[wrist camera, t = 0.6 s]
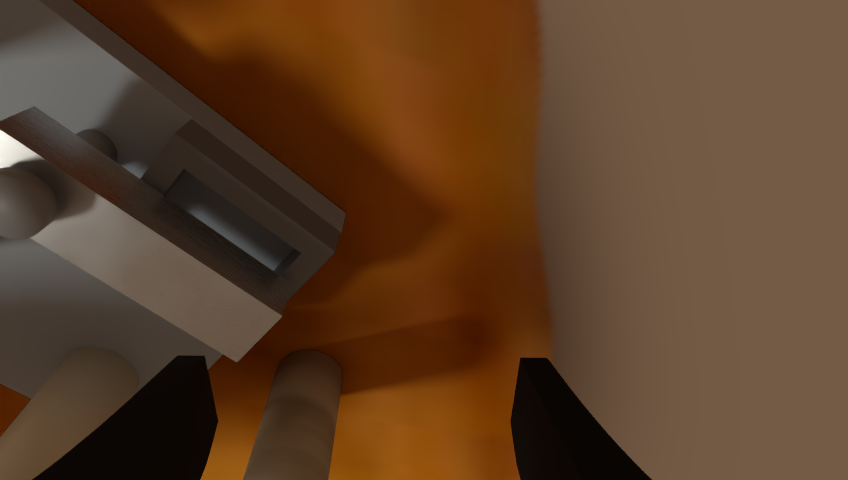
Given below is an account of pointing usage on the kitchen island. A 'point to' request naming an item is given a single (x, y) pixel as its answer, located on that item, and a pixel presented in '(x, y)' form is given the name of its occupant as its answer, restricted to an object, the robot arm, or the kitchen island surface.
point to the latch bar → (144, 240)
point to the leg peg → (298, 420)
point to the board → (158, 167)
